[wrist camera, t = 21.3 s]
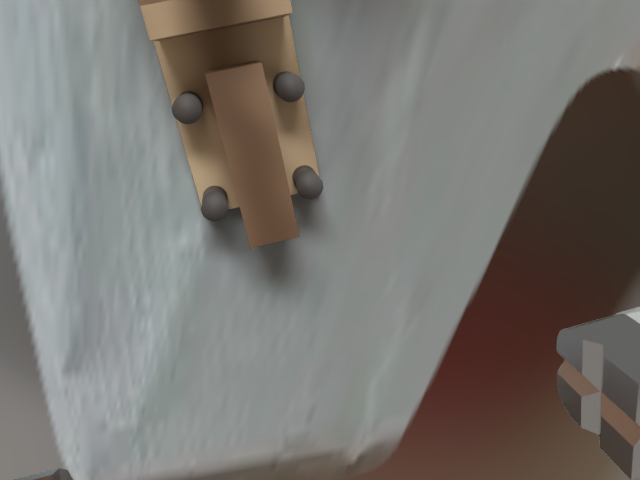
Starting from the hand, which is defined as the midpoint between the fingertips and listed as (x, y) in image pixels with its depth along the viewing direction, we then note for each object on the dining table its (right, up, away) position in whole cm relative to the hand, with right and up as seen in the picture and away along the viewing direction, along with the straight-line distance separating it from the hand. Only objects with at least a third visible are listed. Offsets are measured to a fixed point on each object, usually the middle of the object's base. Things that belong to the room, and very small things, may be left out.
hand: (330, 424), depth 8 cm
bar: (-5, +9, +24) cm, 26 cm away
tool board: (-6, +14, +23) cm, 28 cm away
